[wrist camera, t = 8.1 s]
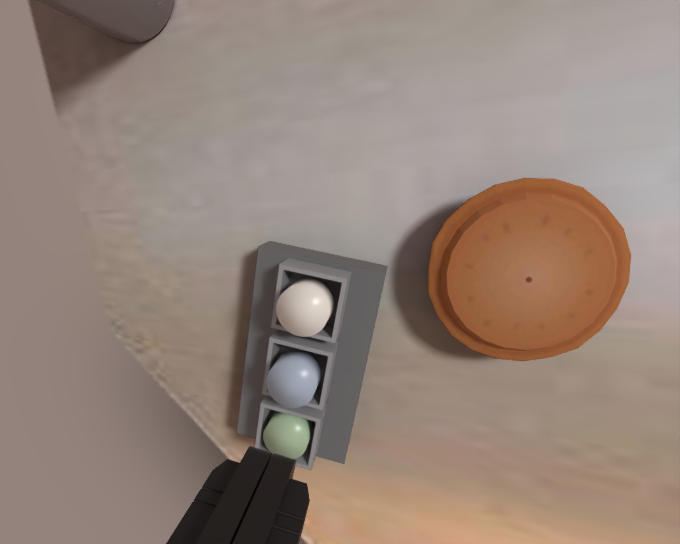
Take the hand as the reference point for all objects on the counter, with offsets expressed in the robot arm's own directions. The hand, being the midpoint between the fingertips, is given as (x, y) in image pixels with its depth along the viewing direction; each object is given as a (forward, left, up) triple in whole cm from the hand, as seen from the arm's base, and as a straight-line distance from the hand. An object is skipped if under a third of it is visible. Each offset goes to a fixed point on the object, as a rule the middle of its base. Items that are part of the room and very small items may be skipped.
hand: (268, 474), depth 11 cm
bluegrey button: (-4, -9, -21) cm, 23 cm away
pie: (+13, +4, -26) cm, 29 cm away
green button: (-4, -16, -22) cm, 28 cm away
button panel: (-4, -9, -26) cm, 28 cm away
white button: (-4, -2, -21) cm, 21 cm away
